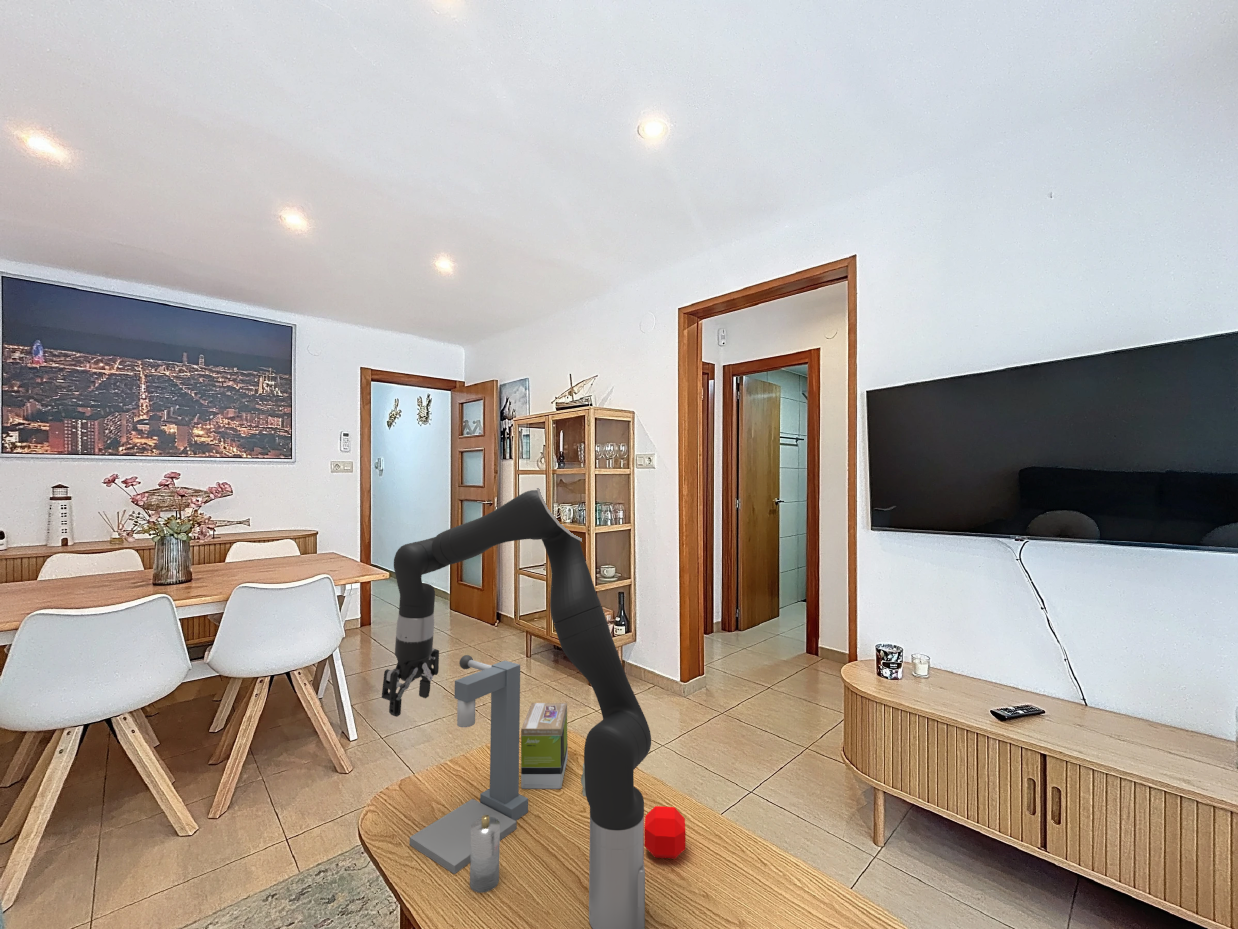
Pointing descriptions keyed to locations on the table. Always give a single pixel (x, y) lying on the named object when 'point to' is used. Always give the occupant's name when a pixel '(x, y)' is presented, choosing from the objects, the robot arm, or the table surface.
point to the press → (502, 799)
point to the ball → (665, 832)
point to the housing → (484, 854)
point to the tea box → (544, 746)
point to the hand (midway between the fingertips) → (410, 705)
